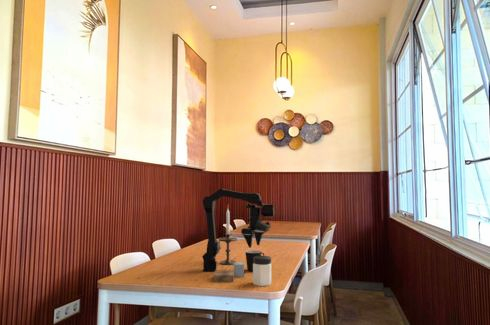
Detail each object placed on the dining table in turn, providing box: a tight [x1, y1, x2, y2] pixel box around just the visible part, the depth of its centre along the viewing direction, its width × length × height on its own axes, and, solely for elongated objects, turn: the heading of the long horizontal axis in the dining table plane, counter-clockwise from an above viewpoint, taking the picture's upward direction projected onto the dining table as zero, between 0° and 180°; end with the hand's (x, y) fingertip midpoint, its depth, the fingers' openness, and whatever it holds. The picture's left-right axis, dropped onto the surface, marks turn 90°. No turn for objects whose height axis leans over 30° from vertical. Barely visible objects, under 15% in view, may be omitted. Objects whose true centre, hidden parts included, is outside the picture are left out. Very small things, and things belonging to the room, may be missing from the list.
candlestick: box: [218, 203, 238, 266], centre depth 210 cm, size 11×11×35 cm
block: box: [233, 261, 245, 278], centre depth 180 cm, size 5×5×6 cm
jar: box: [252, 255, 272, 287], centre depth 164 cm, size 9×8×12 cm
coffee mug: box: [245, 249, 265, 273], centre depth 191 cm, size 12×9×10 cm
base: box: [213, 270, 235, 283], centre depth 172 cm, size 9×9×3 cm
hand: (254, 246), depth 188 cm, fingers open, 9 cm apart
